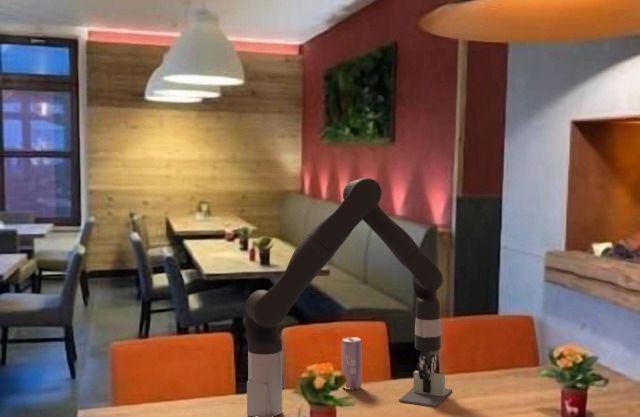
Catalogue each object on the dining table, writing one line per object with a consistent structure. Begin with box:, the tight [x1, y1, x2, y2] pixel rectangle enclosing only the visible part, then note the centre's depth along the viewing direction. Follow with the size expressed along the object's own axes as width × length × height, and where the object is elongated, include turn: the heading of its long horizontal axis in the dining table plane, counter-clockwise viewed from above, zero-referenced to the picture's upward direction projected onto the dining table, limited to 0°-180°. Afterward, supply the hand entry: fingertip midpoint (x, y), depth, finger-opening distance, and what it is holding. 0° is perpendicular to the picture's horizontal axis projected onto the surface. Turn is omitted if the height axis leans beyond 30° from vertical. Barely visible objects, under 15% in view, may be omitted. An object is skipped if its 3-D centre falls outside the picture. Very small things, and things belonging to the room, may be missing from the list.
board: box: [413, 370, 446, 396], centre depth 197 cm, size 2×9×6 cm, turn 64°
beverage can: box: [341, 336, 362, 389], centre depth 204 cm, size 6×6×15 cm
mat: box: [398, 386, 453, 408], centre depth 196 cm, size 16×11×1 cm
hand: (427, 391), depth 197 cm, fingers closed on board, 1 cm apart
